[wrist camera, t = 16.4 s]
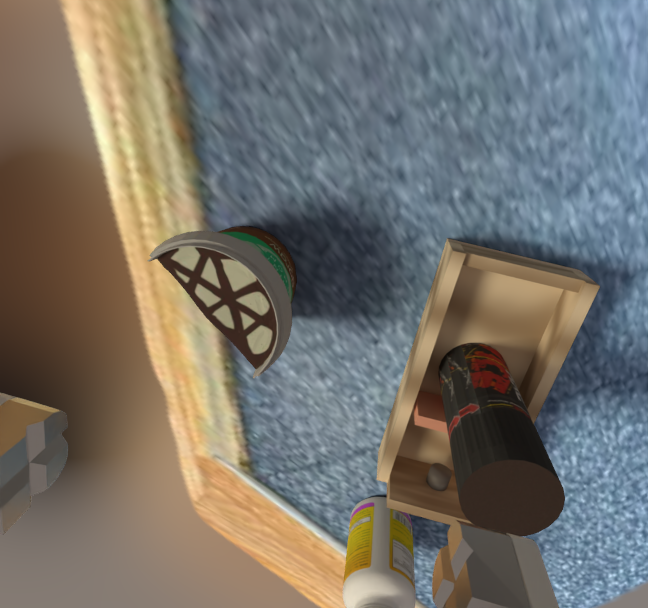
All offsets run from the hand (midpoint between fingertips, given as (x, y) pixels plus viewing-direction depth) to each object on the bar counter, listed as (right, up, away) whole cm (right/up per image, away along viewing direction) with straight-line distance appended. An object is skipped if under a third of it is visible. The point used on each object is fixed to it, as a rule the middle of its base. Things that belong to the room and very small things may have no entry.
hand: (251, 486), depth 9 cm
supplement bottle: (+8, -20, +41) cm, 46 cm away
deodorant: (+15, -2, +32) cm, 35 cm away
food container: (-3, +8, +32) cm, 33 cm away
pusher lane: (+15, -3, +32) cm, 36 cm away
